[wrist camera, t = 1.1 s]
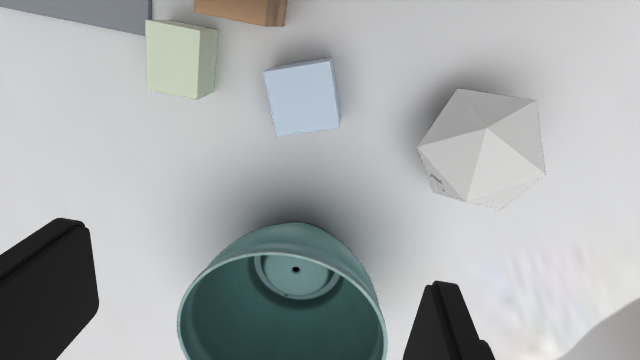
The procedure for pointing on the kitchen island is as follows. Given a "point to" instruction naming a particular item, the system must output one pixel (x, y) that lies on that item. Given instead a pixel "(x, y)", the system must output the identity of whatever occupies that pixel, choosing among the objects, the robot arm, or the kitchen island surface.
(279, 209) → the kitchen island surface
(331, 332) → the flower pot
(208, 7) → the walnut block
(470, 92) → the die
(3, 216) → the kitchen island surface
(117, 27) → the slate mat
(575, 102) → the kitchen island surface
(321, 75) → the dusty blue cube
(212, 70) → the sage block
